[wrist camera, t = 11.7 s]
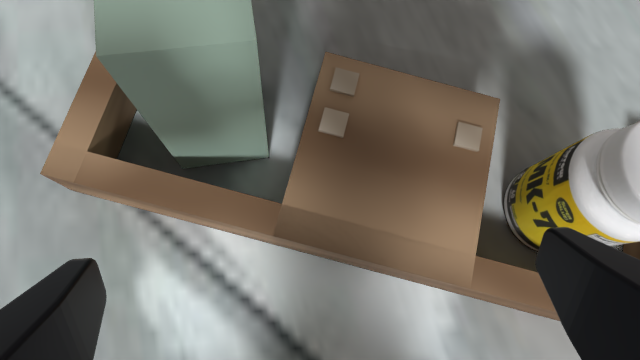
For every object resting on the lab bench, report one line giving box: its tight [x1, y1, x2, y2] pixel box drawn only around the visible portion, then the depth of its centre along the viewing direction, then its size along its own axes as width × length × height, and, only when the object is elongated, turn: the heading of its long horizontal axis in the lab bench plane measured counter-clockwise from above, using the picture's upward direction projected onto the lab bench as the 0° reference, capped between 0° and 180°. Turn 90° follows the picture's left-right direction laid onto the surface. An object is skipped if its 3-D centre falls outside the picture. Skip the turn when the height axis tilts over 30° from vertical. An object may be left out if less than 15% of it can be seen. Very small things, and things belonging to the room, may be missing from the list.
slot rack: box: [40, 52, 640, 321], centre depth 22 cm, size 10×30×3 cm, turn 76°
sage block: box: [94, 0, 269, 169], centre depth 19 cm, size 4×4×11 cm
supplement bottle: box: [504, 121, 640, 251], centre depth 20 cm, size 5×5×8 cm
